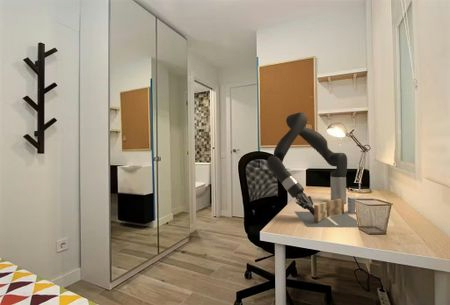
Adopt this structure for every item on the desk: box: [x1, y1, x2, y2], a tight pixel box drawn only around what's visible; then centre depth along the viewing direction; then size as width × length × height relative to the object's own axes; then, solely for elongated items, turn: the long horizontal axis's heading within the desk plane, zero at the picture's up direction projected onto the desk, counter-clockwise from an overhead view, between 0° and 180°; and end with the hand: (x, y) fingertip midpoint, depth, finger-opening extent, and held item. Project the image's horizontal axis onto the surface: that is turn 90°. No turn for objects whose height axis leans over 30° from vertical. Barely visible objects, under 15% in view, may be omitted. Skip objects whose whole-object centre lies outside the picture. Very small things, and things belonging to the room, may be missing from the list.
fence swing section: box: [313, 202, 327, 223], centre depth 111 cm, size 13×2×8 cm, turn 135°
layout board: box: [294, 211, 359, 228], centre depth 113 cm, size 26×27×1 cm
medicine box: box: [347, 196, 366, 215], centre depth 123 cm, size 8×4×9 cm, turn 84°
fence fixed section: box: [323, 198, 345, 217], centre depth 119 cm, size 14×2×9 cm, turn 115°
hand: (315, 214), depth 109 cm, fingers closed
